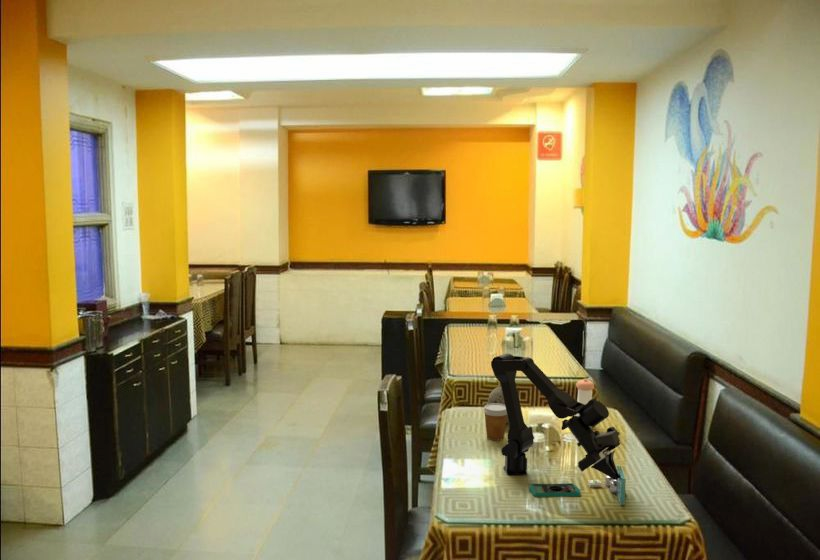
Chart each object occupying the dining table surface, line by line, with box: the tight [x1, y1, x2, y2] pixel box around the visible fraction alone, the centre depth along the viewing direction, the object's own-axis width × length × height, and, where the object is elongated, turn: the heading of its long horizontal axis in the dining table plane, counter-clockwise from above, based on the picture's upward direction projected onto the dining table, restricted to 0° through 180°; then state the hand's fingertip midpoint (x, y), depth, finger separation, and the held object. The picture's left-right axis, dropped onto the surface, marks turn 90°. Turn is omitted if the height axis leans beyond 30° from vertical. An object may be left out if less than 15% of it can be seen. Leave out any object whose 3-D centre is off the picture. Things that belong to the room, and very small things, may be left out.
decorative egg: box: [486, 385, 509, 424], centre depth 266 cm, size 12×12×15 cm
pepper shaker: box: [574, 378, 595, 429], centre depth 262 cm, size 7×7×19 cm
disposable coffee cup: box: [482, 403, 507, 441], centre depth 250 cm, size 10×10×12 cm
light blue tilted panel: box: [609, 465, 626, 506], centre depth 198 cm, size 12×4×8 cm, turn 171°
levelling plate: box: [587, 474, 612, 488], centre depth 201 cm, size 10×14×4 cm
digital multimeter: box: [528, 482, 581, 498], centre depth 202 cm, size 7×15×3 cm, turn 91°
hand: (617, 478), depth 195 cm, fingers closed
